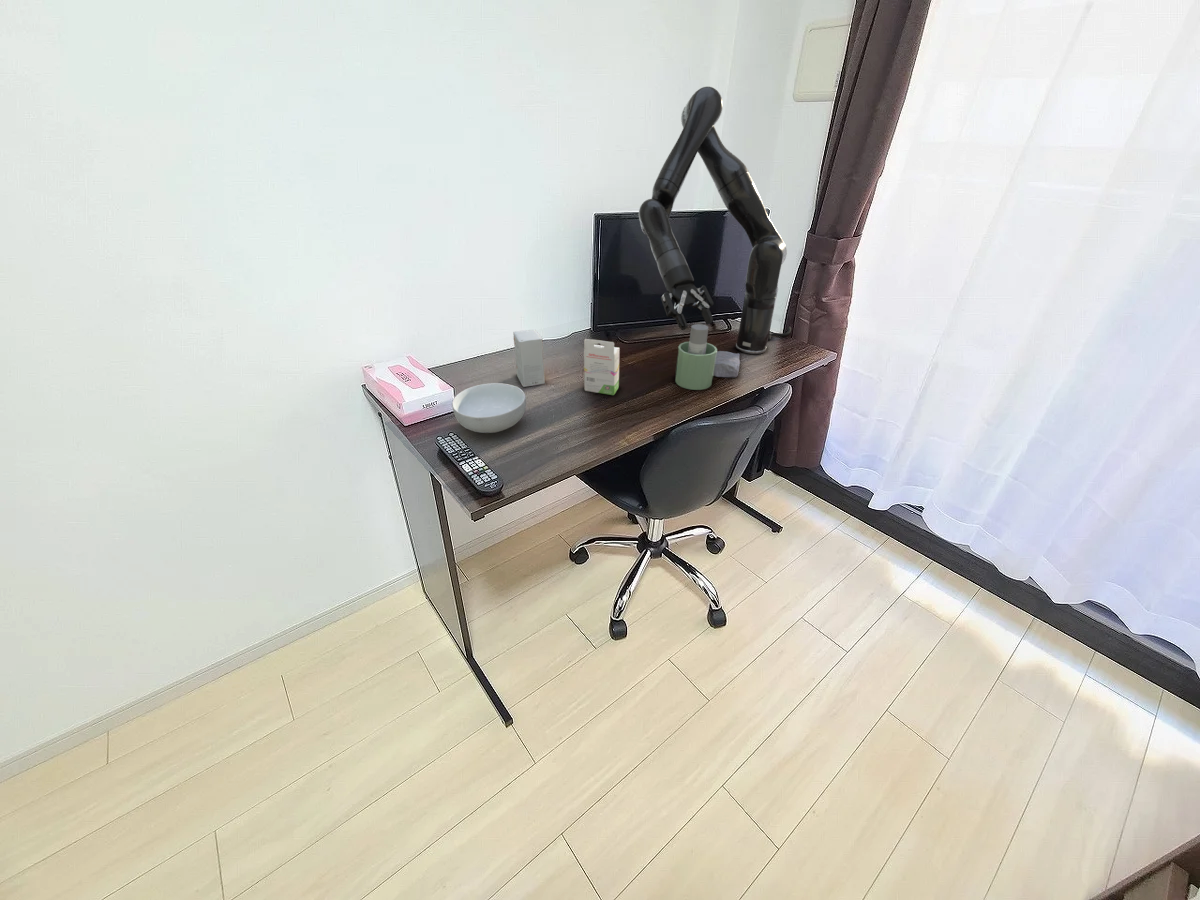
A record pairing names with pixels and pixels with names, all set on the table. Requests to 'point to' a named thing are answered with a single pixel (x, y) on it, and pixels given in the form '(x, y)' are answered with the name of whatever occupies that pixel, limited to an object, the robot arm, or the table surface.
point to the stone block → (726, 364)
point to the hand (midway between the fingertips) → (697, 325)
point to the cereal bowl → (489, 407)
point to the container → (698, 339)
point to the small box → (529, 357)
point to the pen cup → (695, 367)
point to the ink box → (601, 367)
